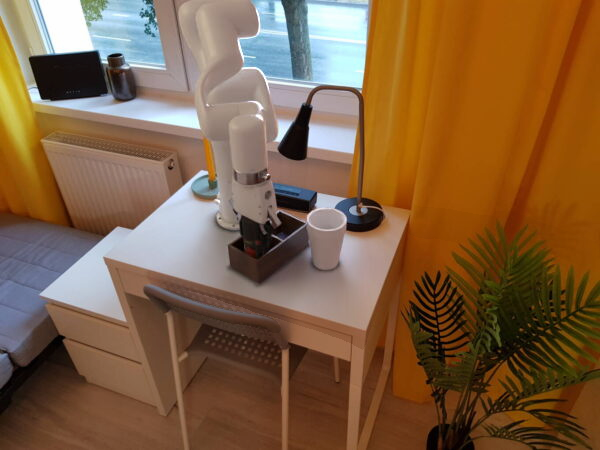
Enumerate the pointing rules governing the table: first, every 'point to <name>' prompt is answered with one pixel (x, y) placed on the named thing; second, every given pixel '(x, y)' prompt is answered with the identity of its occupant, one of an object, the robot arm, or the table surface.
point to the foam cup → (326, 236)
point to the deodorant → (253, 238)
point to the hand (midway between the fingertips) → (256, 237)
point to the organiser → (271, 249)
